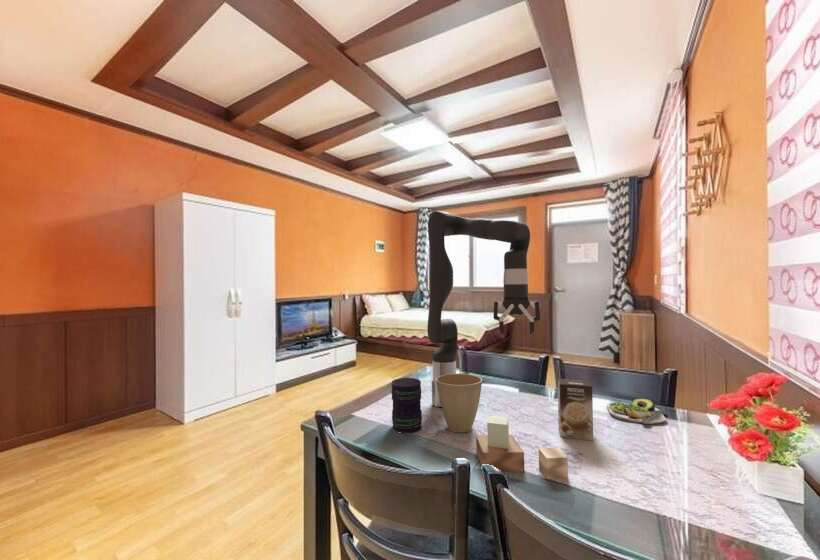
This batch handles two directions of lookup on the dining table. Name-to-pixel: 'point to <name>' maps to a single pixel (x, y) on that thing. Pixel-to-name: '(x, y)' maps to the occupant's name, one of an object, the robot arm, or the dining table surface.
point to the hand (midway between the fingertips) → (516, 333)
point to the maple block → (553, 463)
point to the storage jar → (406, 405)
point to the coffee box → (575, 409)
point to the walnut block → (500, 454)
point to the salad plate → (637, 411)
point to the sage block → (498, 432)
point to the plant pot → (459, 399)
